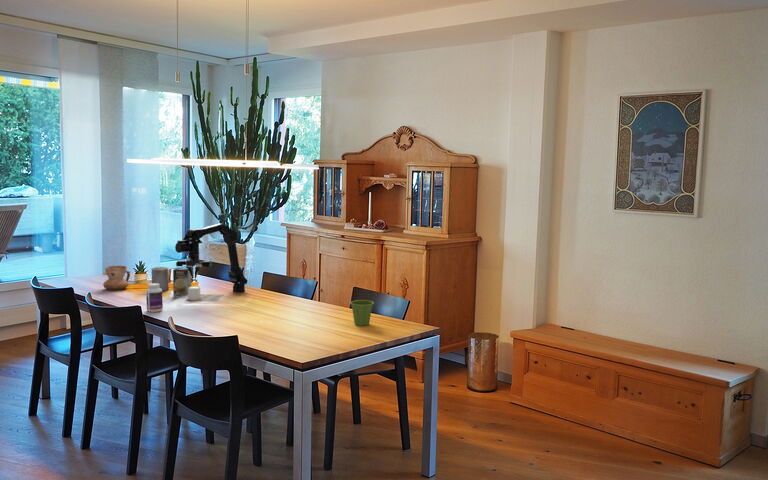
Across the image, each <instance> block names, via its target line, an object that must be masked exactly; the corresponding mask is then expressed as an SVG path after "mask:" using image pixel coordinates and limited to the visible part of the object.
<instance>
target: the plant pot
mask: <svg viewBox="0 0 768 480" xmlns="http://www.w3.org/2000/svg"><path fill="white" fill-rule="evenodd" d="M349 304H350V305H351V309H352V315H353V321H354V325H356V326H357V327H363V326H365V327H367V326H369V325H370V321H371V316H372V315H371V314H372V310H373V305H374V304H375V302H374V301H372V300H367V299H358V300H356V299H355V300H353V301H350V302H349Z"/></svg>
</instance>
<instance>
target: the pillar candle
mask: <svg viewBox="0 0 768 480" xmlns="http://www.w3.org/2000/svg"><path fill="white" fill-rule="evenodd" d="M153 283H158V284H160V287H159V288H161V289H162V292H167V291H169V286H170V285H169V268H168V267H163V266H159V267H152V268H151V284H153Z"/></svg>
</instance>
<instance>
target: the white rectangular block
mask: <svg viewBox="0 0 768 480" xmlns="http://www.w3.org/2000/svg"><path fill="white" fill-rule="evenodd" d="M200 294H201V286H191V287H190V288H188V295H187V297H188V298H187V299H188V300H199V299H200Z"/></svg>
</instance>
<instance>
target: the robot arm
mask: <svg viewBox="0 0 768 480" xmlns="http://www.w3.org/2000/svg"><path fill="white" fill-rule="evenodd" d="M217 232H218V233H219V234H220V235H222V238H223V240H224V243H225V244H226V245H227V251H228V256H229V257H228V258H229V263H230V264H229V265H230V268H229V270H228V271H227V273H228V278H229V280H231V283H232V284H233V286H232V292H233V293H245V292H246V285H247V283H248V281H249V280H248V279H247V278H246V277H245V275H244V272H243V270H242V269H241V267H240V262H239V257H238V250H237V249H238V248H237V241H238V232H237V231H236V230H235V229H233V228H232V229H231V227H228V226H227V225H225V224H224V223H215V224H213V225H208V226H206V227H205V226H204V227H202V228H189V229H188V230H187V232H186V234H185V235H184V237H183V239H182V240H177V241H176V244H175V246H174V249H175V250H174V251H176V253H177V254H179V253H188V254H187V258H186V260H185V259H184V260H181V259H180V260H177V261H176V263H175V267H183V266H185V268H186V269H188V270H189V271H190V274H191V280H192V279H197V277H198V274H199V271H200V270H201V268H203V267H204V268H209V267H211V266H212V263H213V262H212V261H211V260H203V261H200V244H203V241H202V240H201V238H203V237H204V236H206V235H210V234H214V233H217Z"/></svg>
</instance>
